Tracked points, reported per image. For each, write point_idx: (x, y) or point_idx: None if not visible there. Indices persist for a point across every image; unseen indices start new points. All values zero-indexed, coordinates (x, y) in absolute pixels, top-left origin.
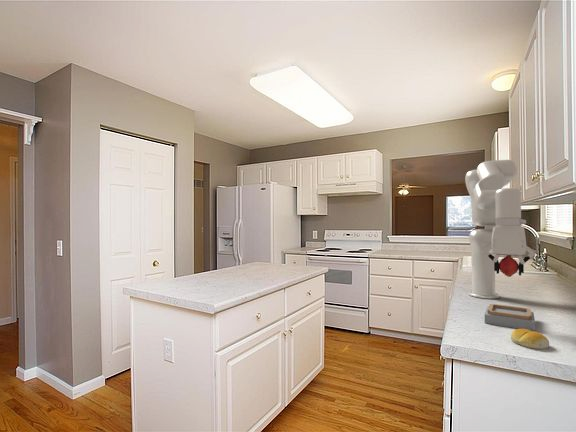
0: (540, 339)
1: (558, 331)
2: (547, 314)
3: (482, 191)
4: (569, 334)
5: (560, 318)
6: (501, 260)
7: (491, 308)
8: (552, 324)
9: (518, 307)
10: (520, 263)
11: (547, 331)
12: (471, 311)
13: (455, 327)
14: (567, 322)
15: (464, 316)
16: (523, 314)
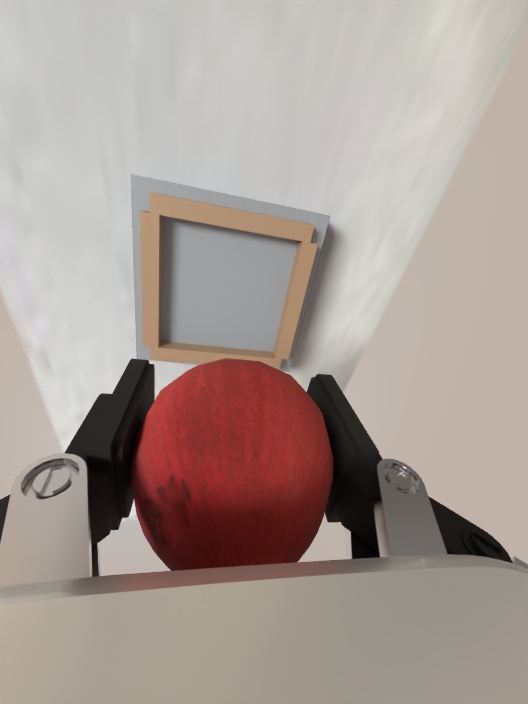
0: None
1: (346, 330)
2: (426, 37)
3: None
4: (362, 345)
5: (443, 118)
6: (151, 542)
7: (155, 311)
8: (363, 251)
9: (272, 231)
10: (346, 510)
11: (315, 344)
12: (58, 158)
13: (72, 423)
14: (433, 190)
15: (57, 282)
16: (275, 292)
